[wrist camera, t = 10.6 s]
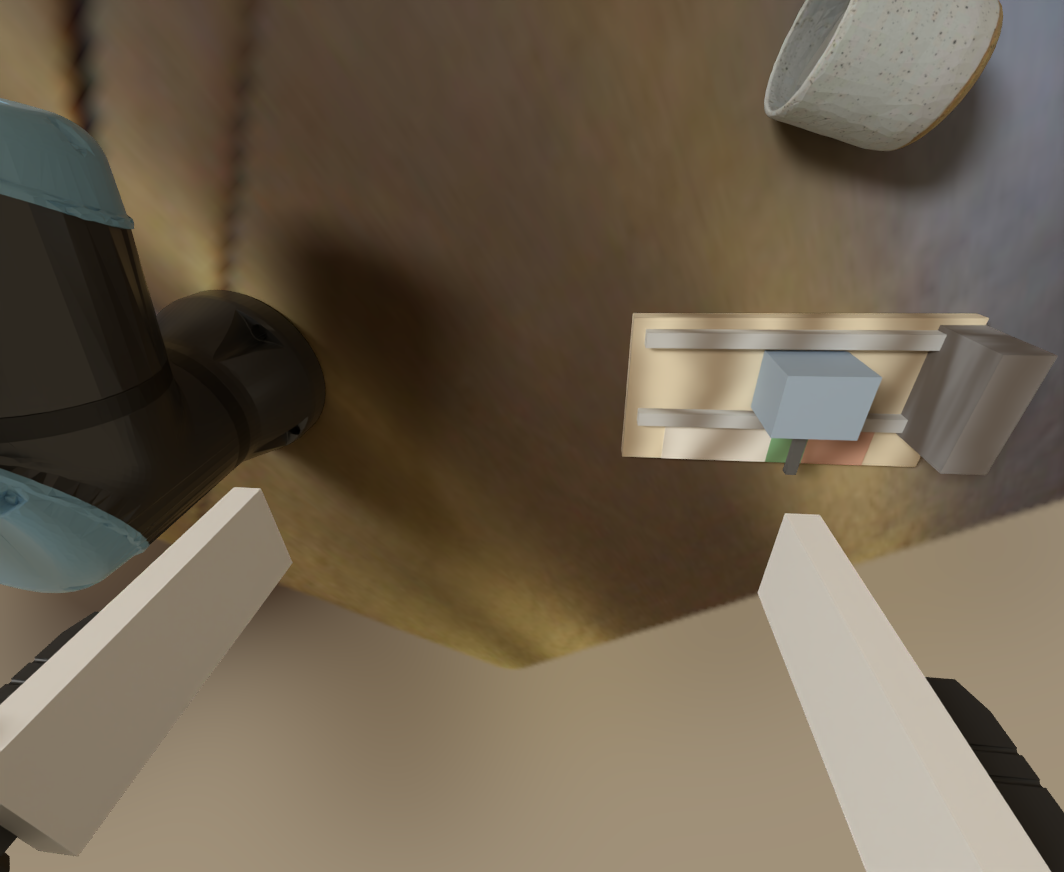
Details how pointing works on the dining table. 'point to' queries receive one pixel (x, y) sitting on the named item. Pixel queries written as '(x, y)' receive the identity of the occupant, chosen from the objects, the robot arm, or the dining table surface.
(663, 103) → the dining table surface
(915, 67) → the ceramic mug
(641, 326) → the gauge base
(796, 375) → the carriage
